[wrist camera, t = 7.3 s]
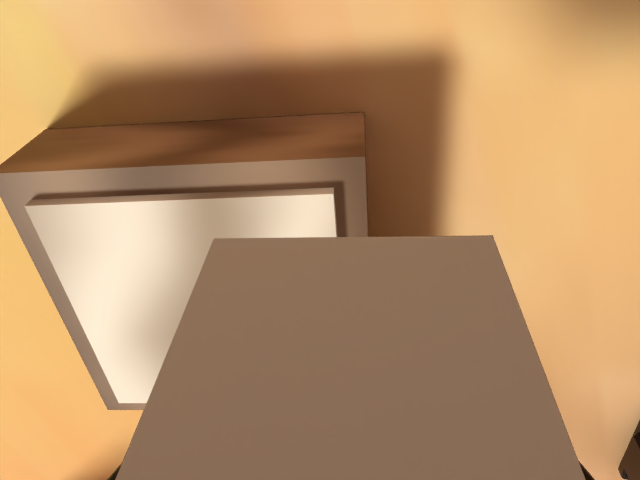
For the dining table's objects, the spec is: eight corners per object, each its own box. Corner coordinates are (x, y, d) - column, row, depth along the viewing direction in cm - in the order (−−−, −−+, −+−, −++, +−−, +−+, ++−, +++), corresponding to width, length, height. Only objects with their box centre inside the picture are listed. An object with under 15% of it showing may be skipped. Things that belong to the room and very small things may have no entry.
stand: (363, 112, 18) (365, 162, 15) (371, 348, 25) (373, 418, 22) (45, 129, 19) (-19, 180, 16) (136, 350, 26) (104, 417, 23)
